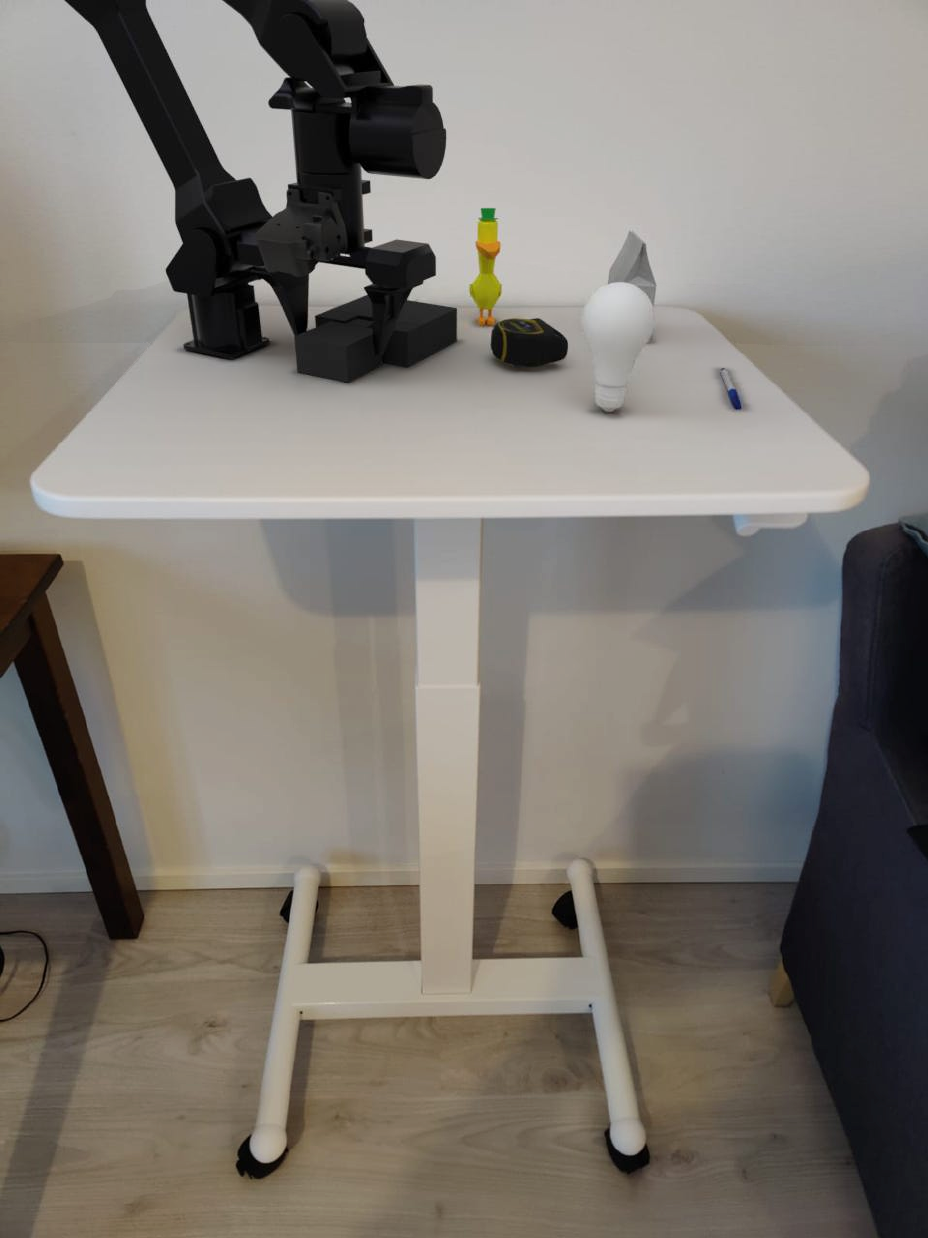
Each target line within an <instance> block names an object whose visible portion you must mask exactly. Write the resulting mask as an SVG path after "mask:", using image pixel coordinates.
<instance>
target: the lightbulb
mask: <svg viewBox="0 0 928 1238" xmlns="http://www.w3.org/2000/svg"><path fill="white" fill-rule="evenodd" d="M654 308H655V307H654ZM654 308H653V305H652V303H651V301H650V299H649V297H648V296H647V295H646V293H645V292H643V291H642V290H641V289H640V288H638V287H636V286H635V285H633V284H629V283H625V282H616V283H610V284H608V283H607V284H605V285H603V286H601V287H600V288H598V289H596V290H595V291H594V292H593V293H592V294H591V296H590V297H589V298H588V299H587V301H586V303H585V304H584V307H583V309H582V313H581V319H580V322H581V323H580V324H581V325H580V326H581V331H582V334H583V337H584V340H585V342H586V343H585V344H586V345H587V347H588V349H589V351H590V354H591V358H592V359H591V360H592V364H593V381H594V382H595V389H594V390H595V393H594V402H595V404H596V406H597V407H599V408H601V409H602V411H604V412H606V413H611V412H612V413H613V412H614V411H615V410H616V409H619V408H620V409H621V407H623V405H624V402H625V399H626V390H627V386H628V384H629V383H630V381H631V375H632V371H633V368H634V365H635V363H636V360H637V358H638V357H639V355H640V353H641V352H642V351H643V349H644V348H645V347H646V345H647V344H648V343H647V341H648V340H649V338H650V339H651V337H652V335H653V332H654V328H655V323H656V315H655V309H654Z"/></svg>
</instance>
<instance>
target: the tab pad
mask: <svg viewBox="0 0 928 1238" xmlns="http://www.w3.org/2000/svg"><path fill="white" fill-rule="evenodd" d="M293 339H294V340H293V341H294V351H295V362H296V372H297V373H298V374H304V375H309V376H314V377H317V378H318V377H319V378H323V379H328V380H333V381H338V382H343V383H347V384H350V383H351V382H353V381H354V380H357V379H359V378H360V377H362V376H364V375H366V374H368V373H370V372H372V371H374V370H376V369H377V368H380V367H383V362H382V355H381V356H376V355H375V351H374V344H373V323H372V321H366V320H360V319H356V320H353V321H351V322H349V323H346V324H344V323H338V322H332V321H330V322H328V323H325V324H323V325H320V326H318V327H316V326H315V327H314V328H311V329H307V331H306V332H304V333H301V334H299V335H297V336H294V337H293Z"/></svg>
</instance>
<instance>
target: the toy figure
mask: <svg viewBox="0 0 928 1238" xmlns="http://www.w3.org/2000/svg"><path fill="white" fill-rule="evenodd" d="M496 209H497V208H496V207H481V208H480V213H481V217H478V221H477V238H476V239H477V240H476V241H475V248H476V250H477V258H478V259H477V260H478V267H479V273H478V275H477V276H476V278H475V279H474V281H473V282H472V283H469V289H468V290H469V296H470V298H471V297H472V300H473V301H474V303H475V305H476V306H477V308H478V309H479V317H477V325H478V326H480V327H483V326H486V325H488V326H490V327H494V326H495V325H496V318H495V317H493V309H494V307H495V305H496V304H497V302H499V299H500V297H501V296H502V292H503V291H502V290H503V288H502V287H503V284H502V283H501V282H500V281H499V279H498V278H497V276H496V274H495V273H494V272H495V264H496V257H498V255H499V254H500V252H501V246H502V245H501V242H500V241H499V240H498V235H499V234H498V233H499V232H498V231H499V222H498V221H497V220H499V218H498V217H495V215H496ZM484 311H487V317H485V316H484Z"/></svg>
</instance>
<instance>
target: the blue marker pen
mask: <svg viewBox="0 0 928 1238" xmlns="http://www.w3.org/2000/svg"><path fill="white" fill-rule="evenodd" d="M720 374H721V377H722V379H723V382H724V385H725V387H726V391H727V394H728V397H729V400H730V402H731V405H732V407H733V408H734V409H735V410H737V411H739V410H741V409H742V402H741V400H740V396H739V394H738V391H737V389H736V388H735V387H734V384H733V382H732V378H731V377H730V374H729V372H728V369H726V368H725V367H722V368H721V369H720Z"/></svg>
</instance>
